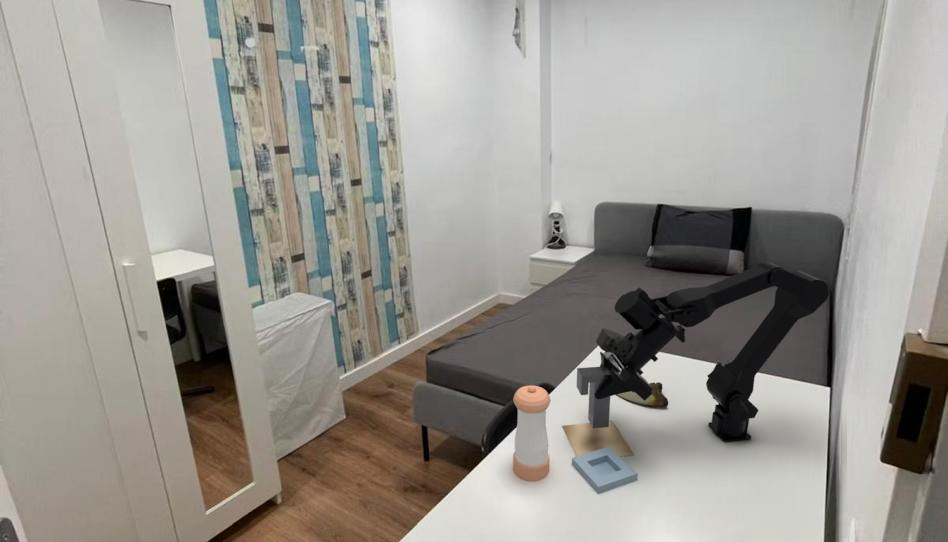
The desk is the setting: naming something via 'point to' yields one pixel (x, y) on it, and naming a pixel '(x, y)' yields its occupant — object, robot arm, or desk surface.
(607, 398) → the grey hook block
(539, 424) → the salt shaker
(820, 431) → the desk surface
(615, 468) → the square socket block
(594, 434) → the tan metal pad
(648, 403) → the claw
